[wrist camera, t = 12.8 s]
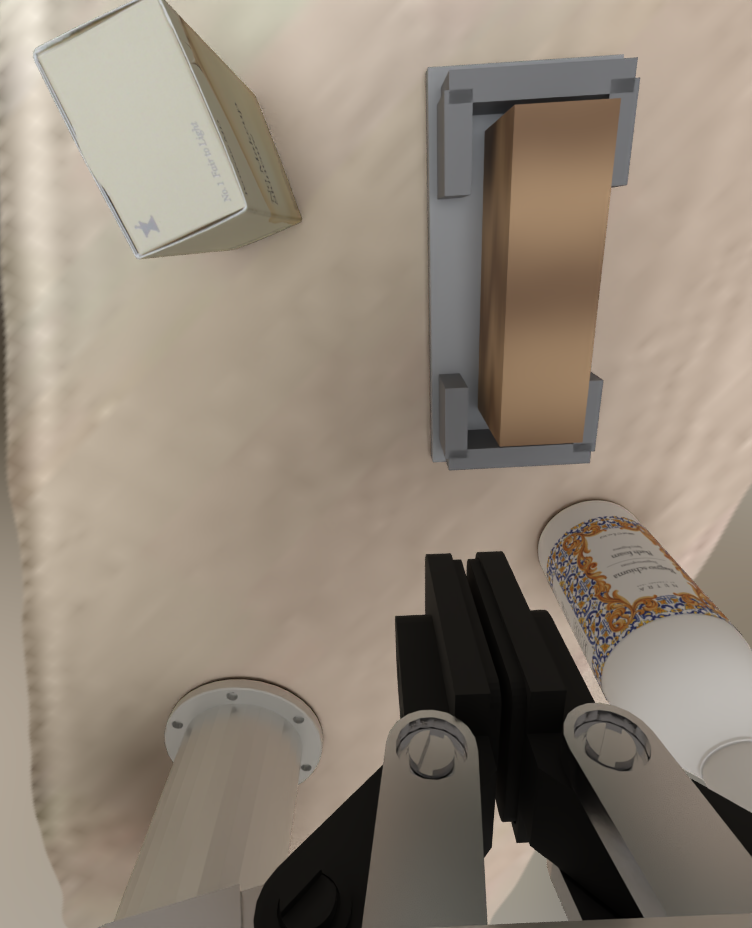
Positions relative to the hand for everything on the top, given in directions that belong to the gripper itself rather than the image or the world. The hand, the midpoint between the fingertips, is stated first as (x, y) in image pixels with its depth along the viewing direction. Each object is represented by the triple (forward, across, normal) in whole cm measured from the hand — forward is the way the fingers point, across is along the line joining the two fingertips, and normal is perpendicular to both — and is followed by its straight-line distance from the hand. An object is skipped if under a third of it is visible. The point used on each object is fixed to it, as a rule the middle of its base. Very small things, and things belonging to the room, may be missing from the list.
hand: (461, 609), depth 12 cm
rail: (+21, -6, -5) cm, 23 cm away
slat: (+20, -6, -6) cm, 22 cm away
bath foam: (+22, -12, +12) cm, 28 cm away
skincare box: (+22, +8, -11) cm, 26 cm away
